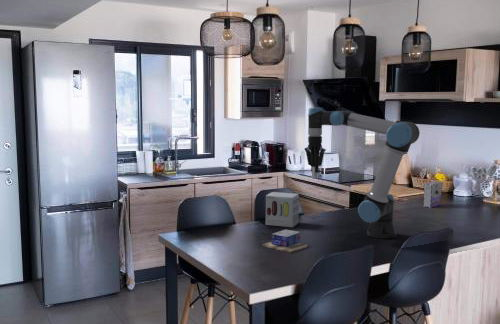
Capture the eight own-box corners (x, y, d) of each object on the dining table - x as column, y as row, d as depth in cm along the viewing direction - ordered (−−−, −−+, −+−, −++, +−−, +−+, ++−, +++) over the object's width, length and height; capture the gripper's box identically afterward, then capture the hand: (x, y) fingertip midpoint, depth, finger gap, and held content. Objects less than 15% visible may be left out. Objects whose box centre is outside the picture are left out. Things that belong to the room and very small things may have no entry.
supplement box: (265, 225, 304) (264, 195, 301) (272, 220, 316) (272, 191, 314) (293, 227, 298) (293, 197, 295) (299, 222, 310) (299, 193, 308)
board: (307, 247, 257) (307, 245, 257) (290, 253, 247) (290, 251, 247) (280, 240, 270) (280, 238, 270) (262, 246, 260) (262, 244, 260)
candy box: (433, 204, 363) (434, 181, 361) (441, 205, 358) (442, 182, 356) (422, 206, 354) (423, 183, 352) (430, 208, 350) (431, 184, 348)
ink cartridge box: (285, 239, 269) (268, 244, 258) (285, 229, 269) (268, 233, 258) (300, 242, 263) (283, 247, 252) (300, 231, 262) (284, 236, 251)
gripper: (328, 135, 280) (328, 178, 283) (309, 134, 289) (309, 176, 292) (320, 136, 275) (320, 180, 278) (301, 135, 284) (301, 177, 287)
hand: (314, 178), depth 285 cm, fingers closed
